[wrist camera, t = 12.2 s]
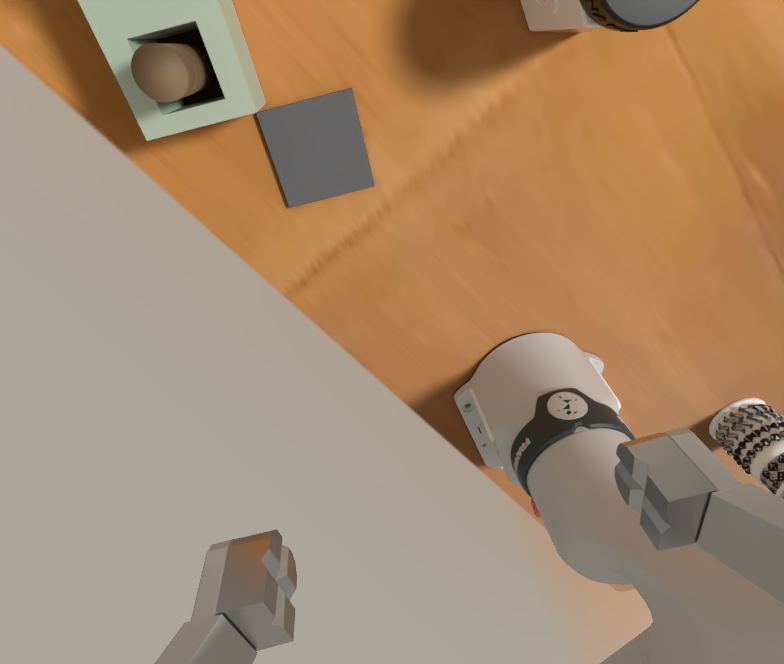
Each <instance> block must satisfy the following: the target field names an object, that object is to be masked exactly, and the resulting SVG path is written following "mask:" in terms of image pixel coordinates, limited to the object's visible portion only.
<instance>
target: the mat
mask: <svg viewBox="0 0 784 664" xmlns="http://www.w3.org/2000/svg"><path fill="white" fill-rule="evenodd" d="M256 114H257V117H258V120H259V123H260V126H261V129H262V131H263V134H264V137H265V140H266V143H267V146H268V148H269V151H270V154H271V157H272V160H273V163H274V165H275V168H276V171H277V174H278V177H279V180H280V182H281V185H282V188H283V191H284V194H285V197H286V200H287V202H288V205H289V208H292V207H296V206H300V205H303V204H307V203H311V202H315V201H319V200H323V199H327V198H330V197H334V196H338V195H342V194H346V193H350V192H354V191H358V190H361V189H365V188H369V187H373V186H375V185H374V181H373V177H372V172H371V168H370V164H369V160H368V155H367V151H366V147H365V143H364V138H363V134H362V130H361V126H360V121H359V117H358V113H357V109H356V105H355V100H354V96H353V92H352V88H349V89H346V90H342V91H338V92H334V93H330V94H326V95H323V96H319V97H315V98H311V99H307V100H303V101H300V102H296V103H292V104H288V105H284V106H280V107H277V108H273V109H269V110H265V111H261V112H258V113H256Z"/></svg>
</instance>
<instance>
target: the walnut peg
mask: <svg viewBox="0 0 784 664" xmlns="http://www.w3.org/2000/svg"><path fill="white" fill-rule="evenodd" d="M131 70H132V75H133V78H134V80H135V82H136V84H137V85H138V87H139V88H140V89H141V91H142V92H143V93H144V94H146V95H147V96H148V97H150V98H151V99H153V100H156V101H159V102H164V103H167V102H173V101H176V100H178V99H181V98H184V97H186V96H189V95H192V94H194V93H197V92H200V91H202V90H205V89H208V88H210V87H212V86H213V85H214V84H215V83H216V82H217V80H218V78H217V76H216V73H215V70H214V68H213V65H212V62H211V60H210V57H209V55H208V52H207V49H206V47H204V46H202V45H199V44H173V43H148V44H144V45H142V46H140V47H139V48H138V49H137V50H136V51H135V53H134V54H133V57H132V60H131Z"/></svg>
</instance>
